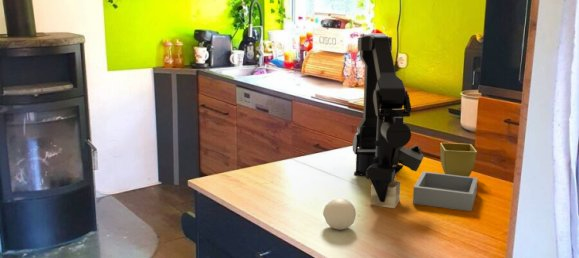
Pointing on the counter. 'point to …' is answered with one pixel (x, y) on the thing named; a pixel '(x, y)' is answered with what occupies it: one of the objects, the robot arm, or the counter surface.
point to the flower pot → (457, 158)
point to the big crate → (445, 191)
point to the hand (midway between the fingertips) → (385, 197)
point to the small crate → (391, 196)
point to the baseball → (339, 213)
